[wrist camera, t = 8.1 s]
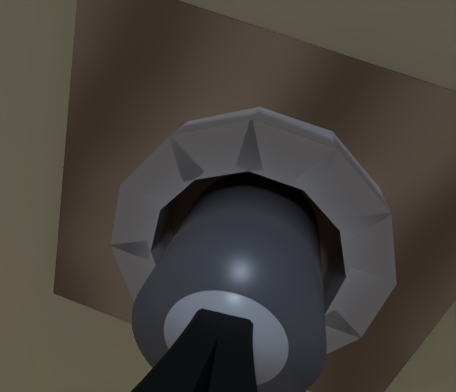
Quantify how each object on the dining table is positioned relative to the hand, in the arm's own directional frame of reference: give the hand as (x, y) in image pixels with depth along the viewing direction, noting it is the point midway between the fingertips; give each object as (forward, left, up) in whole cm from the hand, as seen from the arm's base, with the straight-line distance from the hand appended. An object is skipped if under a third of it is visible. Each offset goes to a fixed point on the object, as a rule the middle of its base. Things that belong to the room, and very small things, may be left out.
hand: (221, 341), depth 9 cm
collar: (0, 0, -6) cm, 6 cm away
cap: (0, 0, -6) cm, 6 cm away
